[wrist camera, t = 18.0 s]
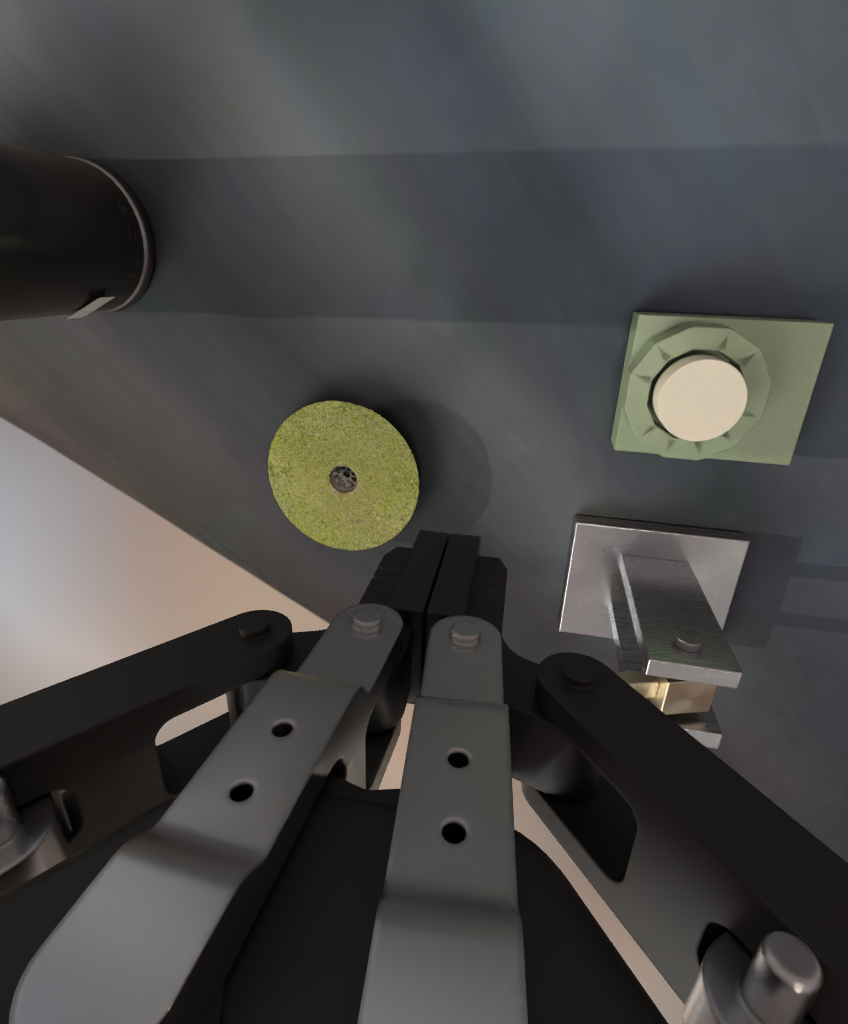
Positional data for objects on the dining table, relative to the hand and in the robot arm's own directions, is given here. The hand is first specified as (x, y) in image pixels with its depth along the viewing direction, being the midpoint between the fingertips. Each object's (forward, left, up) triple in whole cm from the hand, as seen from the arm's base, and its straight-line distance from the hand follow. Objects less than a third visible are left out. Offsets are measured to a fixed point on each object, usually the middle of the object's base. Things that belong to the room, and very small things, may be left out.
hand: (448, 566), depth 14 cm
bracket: (+11, -13, -25) cm, 30 cm away
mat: (-11, -7, -25) cm, 28 cm away
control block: (+12, +1, -25) cm, 28 cm away
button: (+10, +1, -21) cm, 24 cm away
